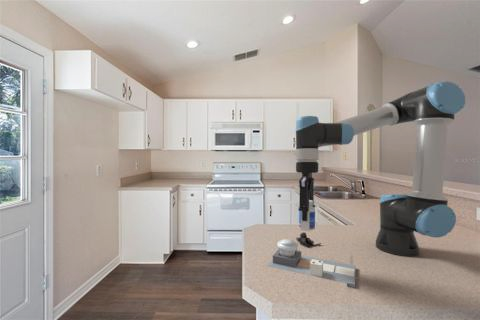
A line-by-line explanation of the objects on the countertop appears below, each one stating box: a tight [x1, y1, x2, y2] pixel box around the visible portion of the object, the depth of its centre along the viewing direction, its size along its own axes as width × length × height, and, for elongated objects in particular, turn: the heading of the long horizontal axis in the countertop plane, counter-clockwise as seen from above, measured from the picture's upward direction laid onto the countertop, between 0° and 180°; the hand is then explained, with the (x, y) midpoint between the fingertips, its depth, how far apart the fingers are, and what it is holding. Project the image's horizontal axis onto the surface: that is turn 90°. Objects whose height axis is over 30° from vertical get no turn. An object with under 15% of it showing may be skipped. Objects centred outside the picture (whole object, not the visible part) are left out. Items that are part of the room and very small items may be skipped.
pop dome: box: [276, 238, 299, 258], centre depth 85 cm, size 7×7×5 cm
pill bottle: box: [298, 200, 316, 231], centre depth 81 cm, size 6×5×10 cm
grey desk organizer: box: [267, 249, 356, 289], centre depth 80 cm, size 27×14×5 cm, turn 63°
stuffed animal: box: [295, 231, 322, 249], centre depth 102 cm, size 12×10×12 cm
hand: (307, 227), depth 81 cm, fingers closed on pill bottle, 5 cm apart
